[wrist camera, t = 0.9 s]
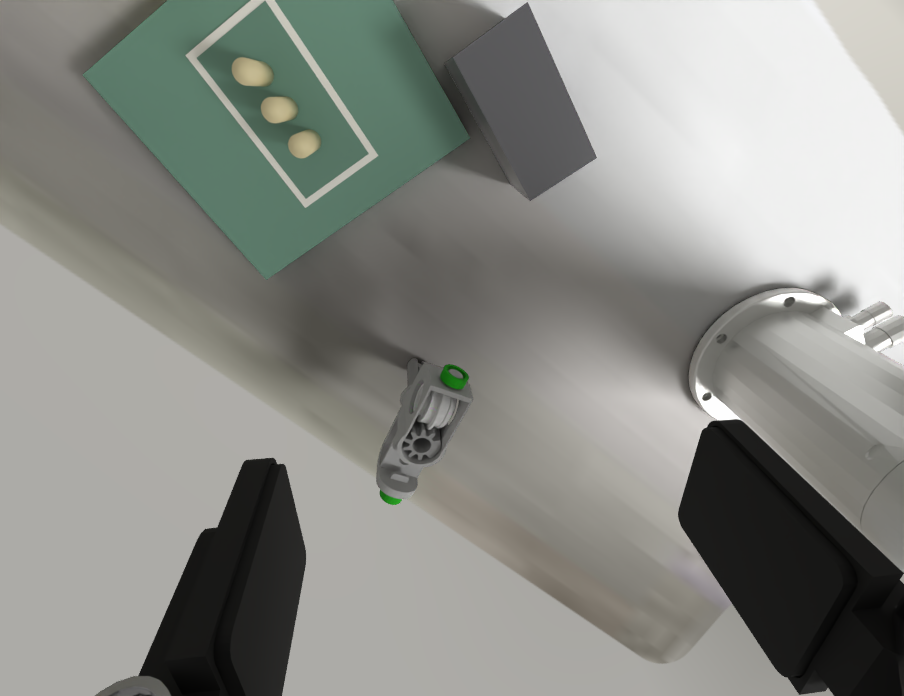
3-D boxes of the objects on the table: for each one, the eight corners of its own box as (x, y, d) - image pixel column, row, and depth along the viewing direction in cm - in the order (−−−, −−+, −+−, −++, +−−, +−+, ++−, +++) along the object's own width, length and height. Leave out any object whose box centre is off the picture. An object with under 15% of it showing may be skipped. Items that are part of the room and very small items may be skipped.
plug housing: (505, 18, 27) (527, 2, 23) (566, 147, 31) (596, 157, 26) (444, 63, 28) (452, 57, 23) (510, 184, 32) (530, 201, 27)
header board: (322, -120, 24) (305, -168, 20) (467, 136, 30) (478, 143, 26) (97, 75, 27) (38, 72, 23) (271, 272, 33) (251, 299, 29)
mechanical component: (376, 409, 39) (368, 501, 30) (426, 303, 35) (434, 373, 26) (409, 420, 40) (411, 512, 31) (462, 317, 36) (481, 389, 27)
